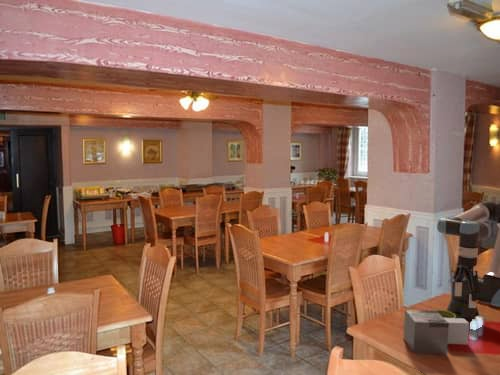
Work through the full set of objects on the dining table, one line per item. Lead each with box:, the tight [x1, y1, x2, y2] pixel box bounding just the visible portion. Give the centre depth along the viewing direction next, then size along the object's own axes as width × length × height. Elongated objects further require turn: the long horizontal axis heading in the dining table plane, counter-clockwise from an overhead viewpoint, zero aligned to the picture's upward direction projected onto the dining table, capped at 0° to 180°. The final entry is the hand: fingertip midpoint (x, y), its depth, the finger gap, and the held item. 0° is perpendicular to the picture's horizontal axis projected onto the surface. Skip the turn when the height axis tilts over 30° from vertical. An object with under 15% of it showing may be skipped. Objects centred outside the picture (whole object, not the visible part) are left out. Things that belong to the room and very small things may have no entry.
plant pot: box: [435, 309, 456, 318], centre depth 194 cm, size 9×9×9 cm
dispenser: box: [403, 309, 449, 355], centre depth 179 cm, size 14×13×14 cm
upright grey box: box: [444, 318, 470, 345], centre depth 184 cm, size 10×5×10 cm, turn 87°
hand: (464, 301), depth 183 cm, fingers open, 13 cm apart
